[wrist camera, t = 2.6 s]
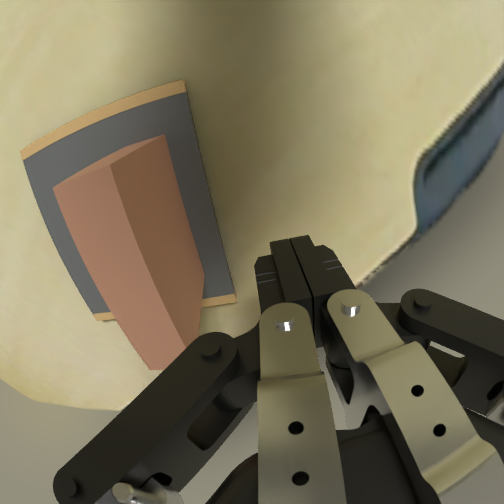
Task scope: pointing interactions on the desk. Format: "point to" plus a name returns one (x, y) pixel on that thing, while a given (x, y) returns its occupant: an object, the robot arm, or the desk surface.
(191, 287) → the slab
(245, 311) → the desk surface
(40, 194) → the mat
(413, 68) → the desk surface
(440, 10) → the desk surface
